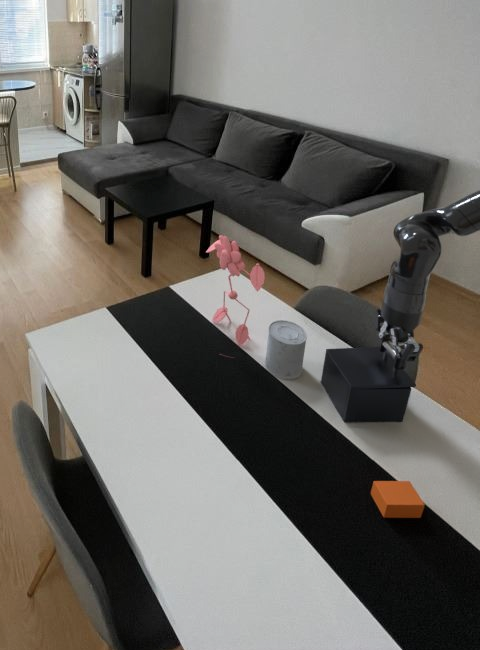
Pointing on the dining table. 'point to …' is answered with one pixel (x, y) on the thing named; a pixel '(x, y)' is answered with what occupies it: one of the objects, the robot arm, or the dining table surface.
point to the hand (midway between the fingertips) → (390, 359)
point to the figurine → (233, 262)
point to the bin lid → (370, 367)
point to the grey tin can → (285, 349)
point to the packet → (397, 499)
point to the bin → (363, 398)
